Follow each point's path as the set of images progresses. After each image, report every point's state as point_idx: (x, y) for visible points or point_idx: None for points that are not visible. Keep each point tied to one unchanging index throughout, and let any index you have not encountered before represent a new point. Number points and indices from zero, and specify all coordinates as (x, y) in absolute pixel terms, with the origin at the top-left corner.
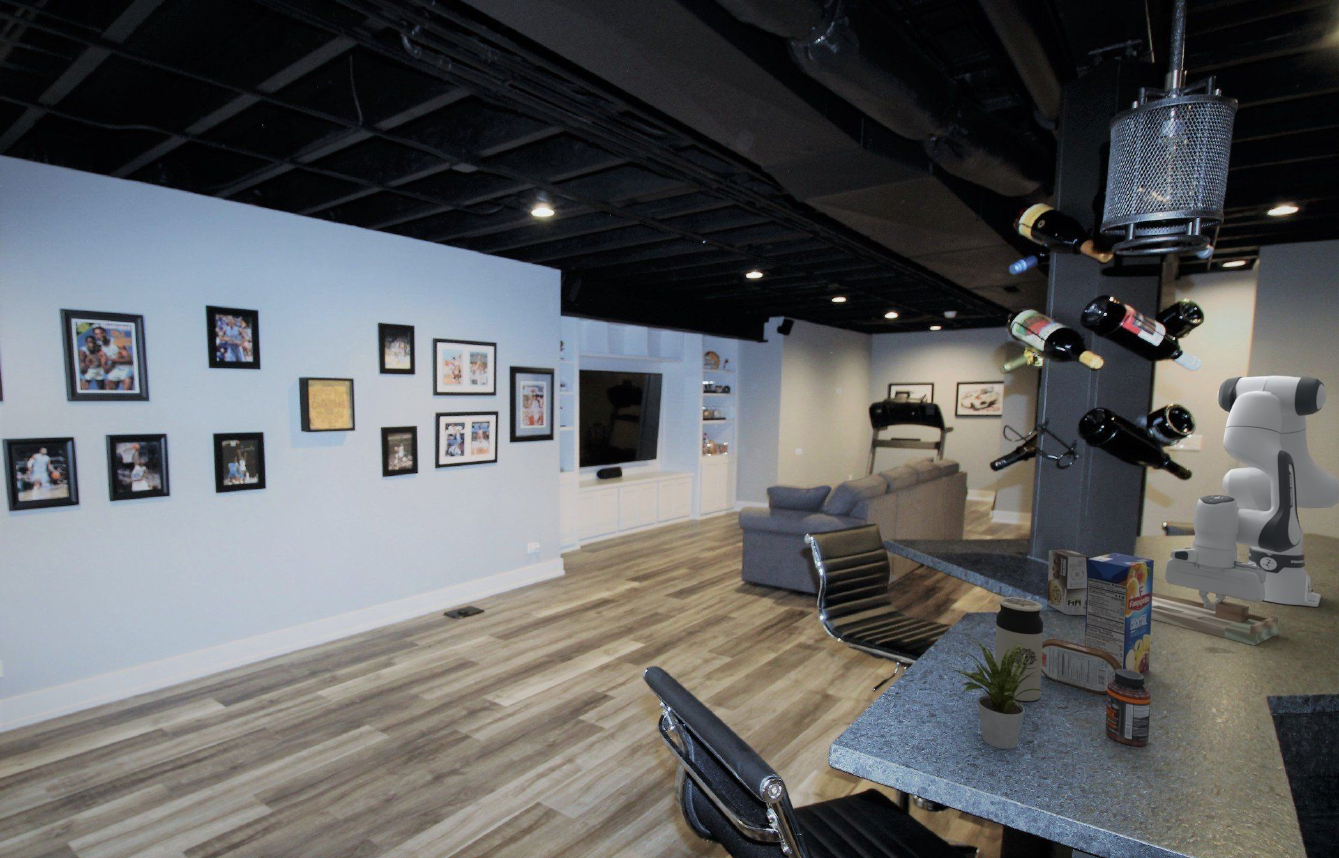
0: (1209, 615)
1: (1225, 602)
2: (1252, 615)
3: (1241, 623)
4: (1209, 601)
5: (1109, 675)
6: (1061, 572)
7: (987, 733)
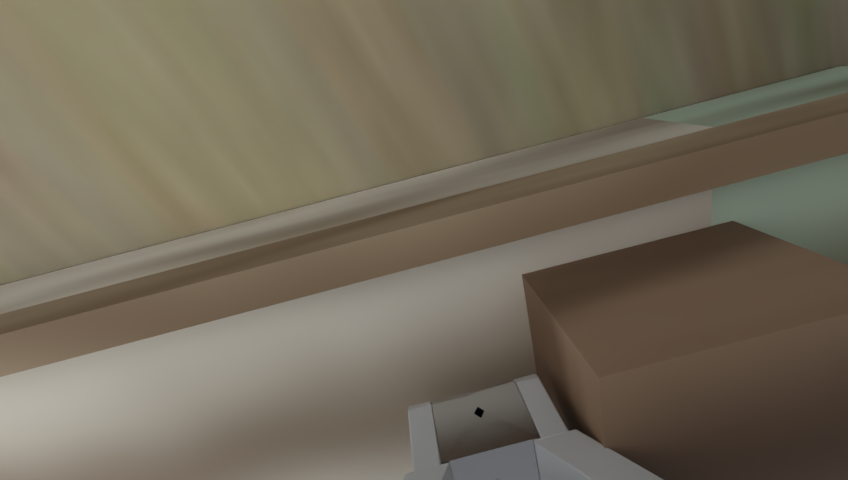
0: None
1: (644, 425)
2: (795, 160)
3: None
4: (452, 468)
5: None
6: None
7: None
